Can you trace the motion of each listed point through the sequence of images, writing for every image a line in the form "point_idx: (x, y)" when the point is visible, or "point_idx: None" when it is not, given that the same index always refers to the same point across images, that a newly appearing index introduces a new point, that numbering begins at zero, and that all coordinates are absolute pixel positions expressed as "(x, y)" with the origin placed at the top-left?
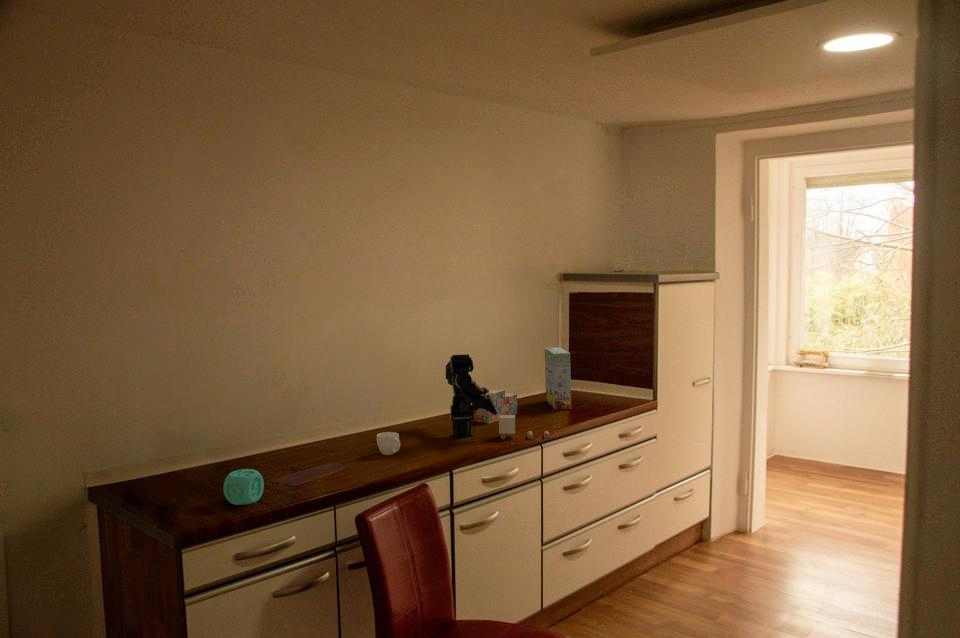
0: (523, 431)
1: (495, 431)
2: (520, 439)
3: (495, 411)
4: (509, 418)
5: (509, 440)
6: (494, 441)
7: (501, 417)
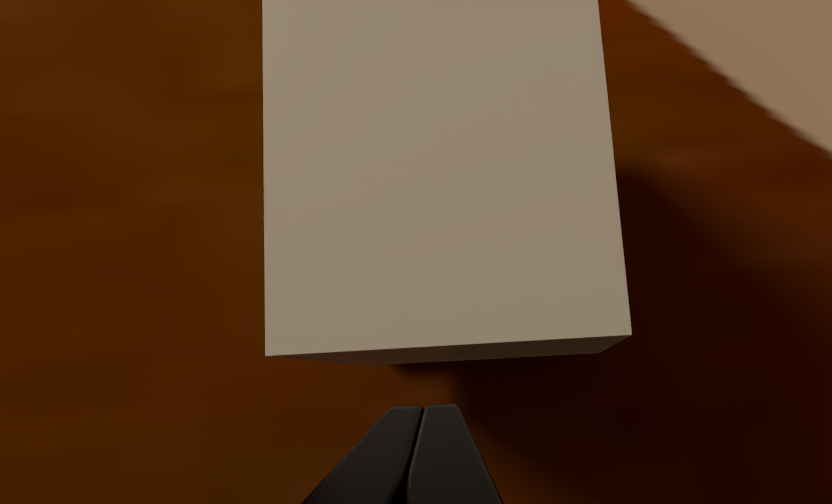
0: (130, 56)
1: (118, 447)
2: (602, 38)
3: (482, 463)
4: (600, 59)
5: (685, 187)
6: (787, 420)
7: (571, 267)
